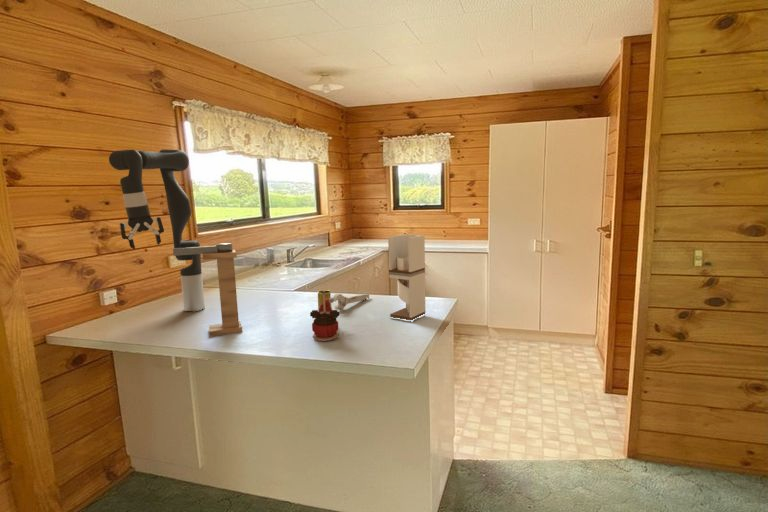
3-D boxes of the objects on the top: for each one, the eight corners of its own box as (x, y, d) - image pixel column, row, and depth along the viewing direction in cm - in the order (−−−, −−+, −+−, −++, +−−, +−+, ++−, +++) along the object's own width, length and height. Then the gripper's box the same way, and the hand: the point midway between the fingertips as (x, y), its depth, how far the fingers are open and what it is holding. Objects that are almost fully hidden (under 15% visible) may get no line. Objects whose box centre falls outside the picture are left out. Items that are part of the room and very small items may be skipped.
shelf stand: (209, 330, 175) (202, 251, 171) (240, 325, 180) (234, 249, 175) (209, 336, 167) (202, 254, 163) (242, 331, 172) (236, 252, 167)
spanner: (174, 254, 166) (173, 246, 165) (232, 250, 174) (231, 242, 173) (173, 256, 160) (172, 248, 160) (233, 251, 168) (232, 244, 168)
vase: (321, 328, 173) (319, 294, 171) (316, 324, 178) (314, 291, 176) (335, 326, 176) (333, 292, 174) (330, 322, 181) (328, 289, 179)
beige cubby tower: (404, 312, 194) (403, 234, 188) (425, 315, 187) (424, 235, 182) (390, 318, 184) (388, 237, 179) (411, 322, 178) (409, 238, 173)
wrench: (369, 304, 220) (335, 312, 194) (366, 304, 221) (331, 312, 195) (369, 288, 220) (335, 295, 194) (366, 288, 221) (332, 294, 194)
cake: (309, 342, 158) (306, 294, 155) (314, 334, 167) (312, 288, 164) (338, 342, 157) (336, 293, 154) (341, 333, 166) (339, 288, 164)
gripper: (155, 201, 169) (164, 241, 173) (113, 206, 161) (124, 248, 165) (159, 202, 163) (168, 244, 167) (115, 208, 155) (126, 252, 160)
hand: (146, 246), depth 166 cm, fingers open, 8 cm apart
